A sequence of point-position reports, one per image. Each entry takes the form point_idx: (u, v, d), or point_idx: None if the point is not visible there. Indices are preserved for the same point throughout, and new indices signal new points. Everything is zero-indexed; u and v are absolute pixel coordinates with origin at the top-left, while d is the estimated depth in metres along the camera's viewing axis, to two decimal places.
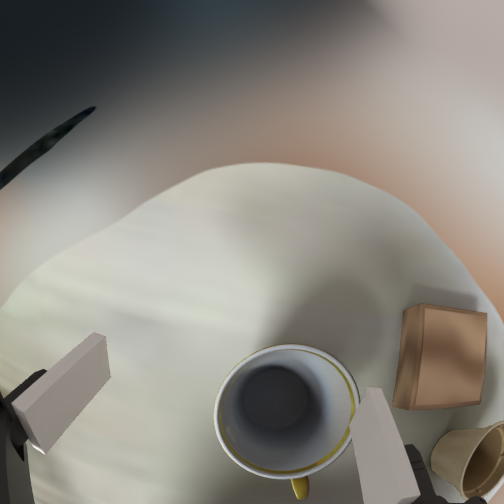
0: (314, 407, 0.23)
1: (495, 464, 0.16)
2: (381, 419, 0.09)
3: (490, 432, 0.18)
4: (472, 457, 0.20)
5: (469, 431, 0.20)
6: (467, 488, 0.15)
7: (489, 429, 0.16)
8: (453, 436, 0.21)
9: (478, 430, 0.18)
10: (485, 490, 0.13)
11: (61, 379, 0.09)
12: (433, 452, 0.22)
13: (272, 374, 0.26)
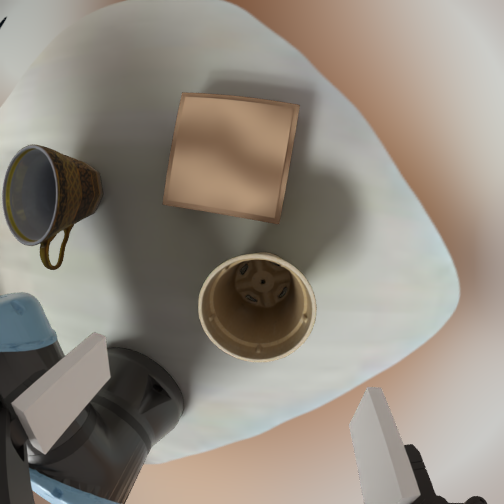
0: None
1: (296, 324, 0.25)
2: (381, 419, 0.09)
3: None
4: (290, 301, 0.29)
5: None
6: (251, 338, 0.26)
7: (238, 257, 0.22)
8: None
9: None
10: (265, 354, 0.24)
11: (61, 379, 0.09)
12: (234, 272, 0.30)
13: None
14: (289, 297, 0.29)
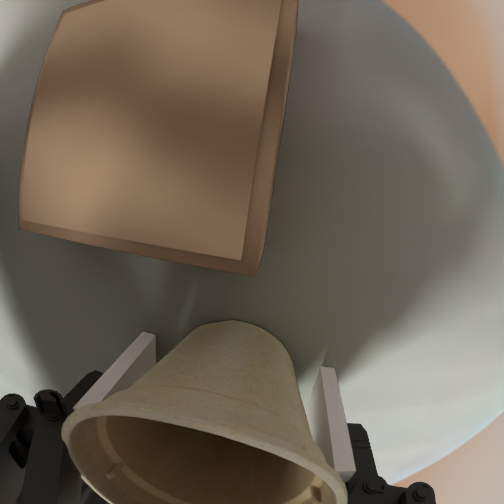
0: None
1: (296, 493, 0.08)
2: (327, 396, 0.11)
3: (286, 401, 0.09)
4: None
5: (194, 356, 0.10)
6: (204, 494, 0.10)
7: (111, 408, 0.05)
8: (187, 341, 0.12)
9: (184, 375, 0.08)
10: None
11: (121, 379, 0.10)
12: None
13: None
14: None
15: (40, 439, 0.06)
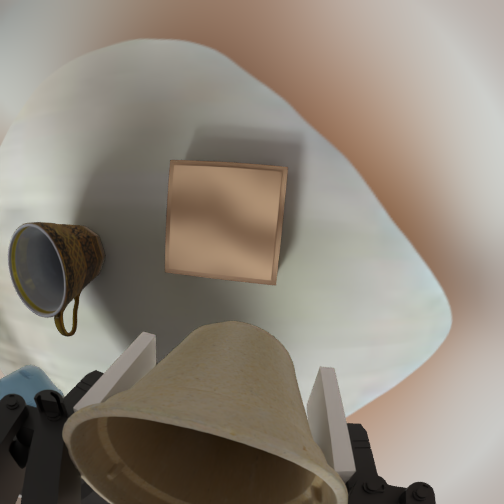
0: None
1: (297, 494, 0.08)
2: (327, 395, 0.11)
3: (287, 401, 0.09)
4: None
5: (195, 357, 0.10)
6: (205, 494, 0.10)
7: (112, 409, 0.05)
8: (187, 341, 0.12)
9: (185, 375, 0.08)
10: None
11: (121, 379, 0.10)
12: None
13: None
14: None
15: (40, 439, 0.06)
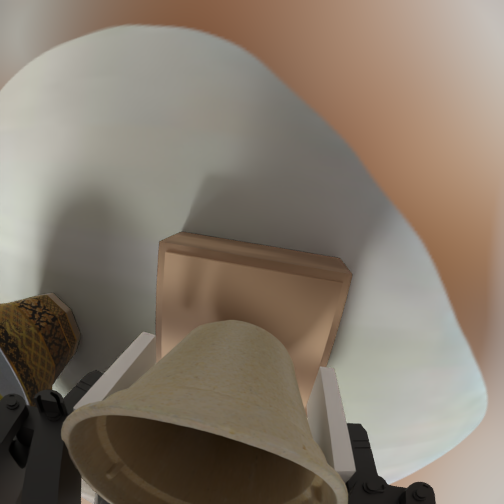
0: None
1: (297, 493, 0.08)
2: (327, 396, 0.11)
3: None
4: None
5: (194, 355, 0.09)
6: (205, 494, 0.10)
7: (111, 407, 0.05)
8: (187, 341, 0.12)
9: (184, 374, 0.08)
10: None
11: (121, 379, 0.10)
12: None
13: None
14: None
15: (40, 439, 0.06)
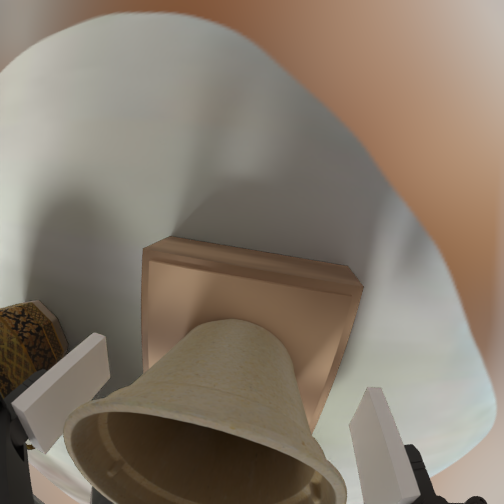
0: None
1: (296, 490, 0.08)
2: (381, 419, 0.09)
3: None
4: None
5: (195, 353, 0.10)
6: (205, 491, 0.10)
7: (114, 404, 0.06)
8: (187, 339, 0.12)
9: (185, 372, 0.08)
10: None
11: (61, 379, 0.09)
12: None
13: None
14: None
15: None
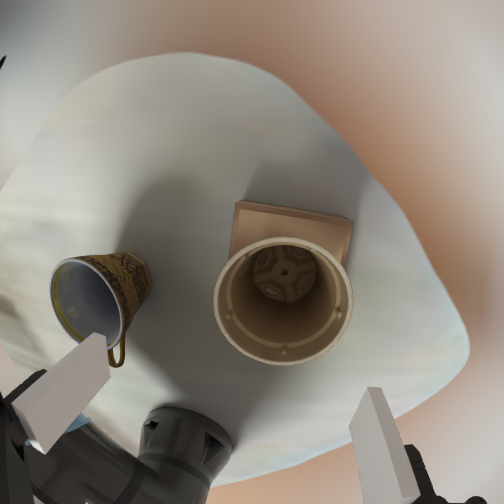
0: None
1: (327, 320, 0.21)
2: (381, 419, 0.09)
3: (320, 259, 0.21)
4: (317, 294, 0.25)
5: None
6: (275, 337, 0.22)
7: (261, 241, 0.18)
8: None
9: None
10: (292, 356, 0.20)
11: (61, 379, 0.09)
12: (252, 262, 0.27)
13: None
14: (315, 289, 0.26)
15: None
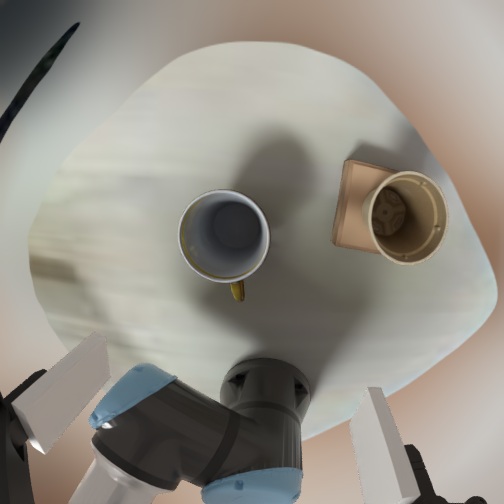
0: (260, 233, 0.37)
1: (428, 236, 0.27)
2: (381, 419, 0.09)
3: (420, 194, 0.28)
4: (410, 226, 0.31)
5: (392, 182, 0.29)
6: (394, 251, 0.29)
7: (400, 172, 0.24)
8: None
9: (398, 180, 0.27)
10: (412, 259, 0.27)
11: (61, 379, 0.09)
12: (363, 203, 0.33)
13: (233, 207, 0.39)
14: (407, 224, 0.32)
15: None
